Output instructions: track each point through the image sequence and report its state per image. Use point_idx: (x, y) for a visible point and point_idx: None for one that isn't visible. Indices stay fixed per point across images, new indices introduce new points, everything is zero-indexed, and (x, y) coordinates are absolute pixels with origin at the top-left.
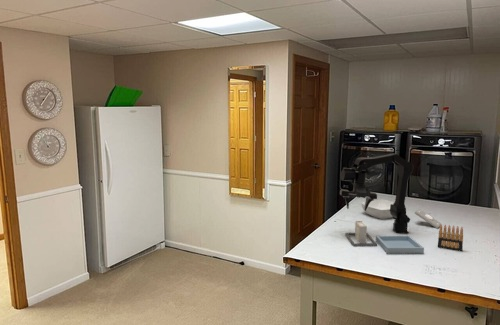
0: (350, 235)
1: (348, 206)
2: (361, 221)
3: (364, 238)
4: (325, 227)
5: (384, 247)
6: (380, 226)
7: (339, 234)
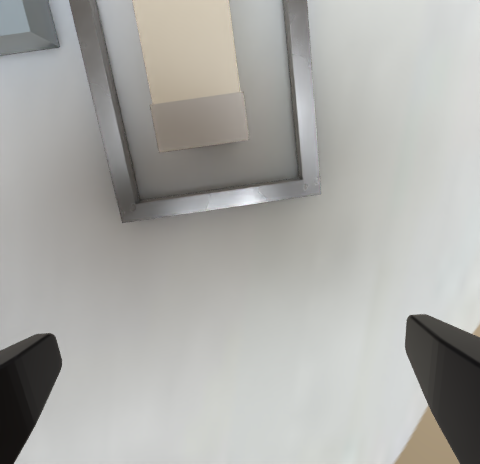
0: (271, 181)
1: (449, 341)
2: (163, 128)
3: None
4: None
5: None
6: None
7: (360, 198)
